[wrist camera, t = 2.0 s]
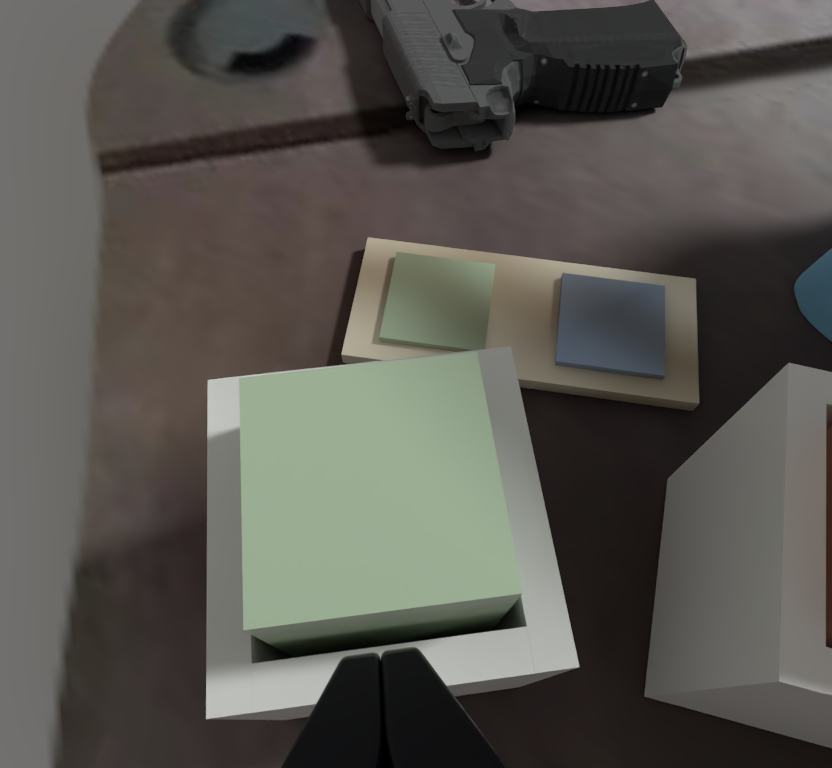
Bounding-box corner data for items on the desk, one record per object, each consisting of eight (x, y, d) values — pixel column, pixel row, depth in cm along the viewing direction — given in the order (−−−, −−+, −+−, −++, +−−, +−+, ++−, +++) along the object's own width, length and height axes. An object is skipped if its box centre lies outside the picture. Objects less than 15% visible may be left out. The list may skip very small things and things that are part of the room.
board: (692, 411, 23) (702, 400, 22) (342, 362, 24) (340, 350, 23) (689, 288, 25) (698, 273, 25) (369, 247, 26) (367, 232, 25)
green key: (483, 640, 17) (522, 592, 11) (306, 663, 17) (243, 630, 11) (456, 473, 19) (477, 351, 13) (297, 492, 19) (238, 378, 13)
